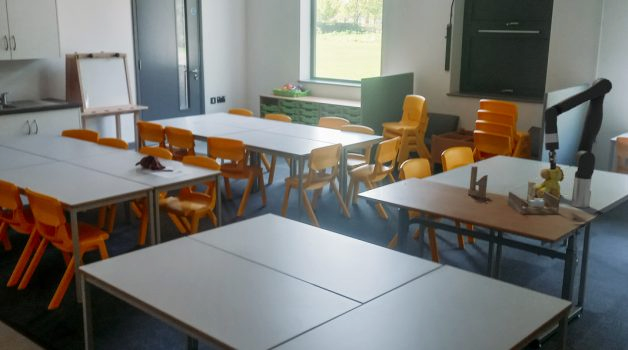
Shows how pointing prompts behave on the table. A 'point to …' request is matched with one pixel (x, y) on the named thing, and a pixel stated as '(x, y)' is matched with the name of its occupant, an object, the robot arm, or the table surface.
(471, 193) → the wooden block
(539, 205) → the grey offcut
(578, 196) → the robot arm
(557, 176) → the yellow stuffed toy
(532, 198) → the tan wooden bar
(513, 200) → the brown wooden tray
